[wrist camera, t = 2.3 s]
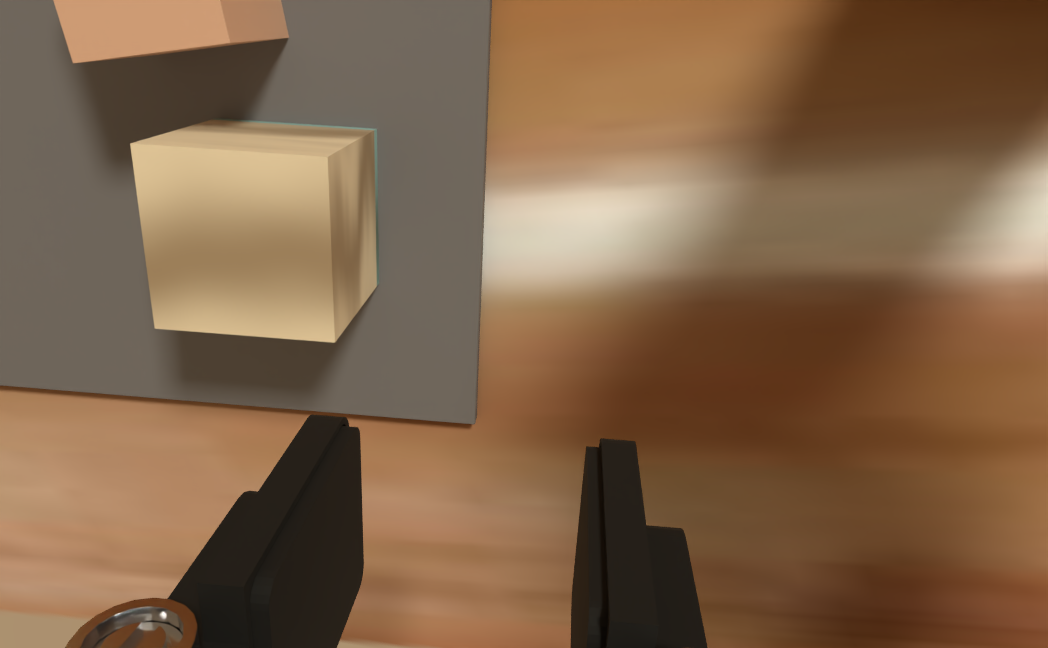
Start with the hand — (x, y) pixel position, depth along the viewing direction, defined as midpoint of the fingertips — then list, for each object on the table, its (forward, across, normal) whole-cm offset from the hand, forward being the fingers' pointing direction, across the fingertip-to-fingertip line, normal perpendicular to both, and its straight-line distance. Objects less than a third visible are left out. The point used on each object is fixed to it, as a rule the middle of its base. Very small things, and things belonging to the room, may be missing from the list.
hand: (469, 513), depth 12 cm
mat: (+19, +16, 0) cm, 25 cm away
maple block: (+19, +9, 0) cm, 21 cm away
